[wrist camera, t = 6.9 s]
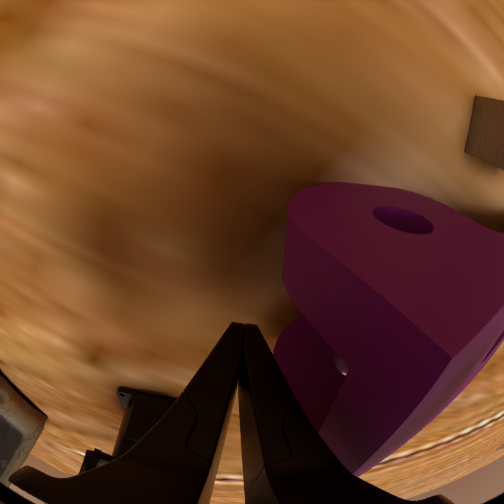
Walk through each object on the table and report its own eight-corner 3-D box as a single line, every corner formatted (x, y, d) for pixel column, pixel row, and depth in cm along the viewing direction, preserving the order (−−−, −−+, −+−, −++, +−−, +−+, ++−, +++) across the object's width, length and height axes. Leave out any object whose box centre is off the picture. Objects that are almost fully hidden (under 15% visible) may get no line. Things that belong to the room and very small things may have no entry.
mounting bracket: (468, 178, 17) (247, 189, 10) (558, 227, 10) (453, 356, 4) (436, 282, 22) (243, 363, 15) (505, 338, 15) (326, 495, 8)
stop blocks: (394, 382, 19) (407, 424, 16) (361, 383, 19) (372, 429, 16) (510, 117, 9) (563, 135, 6) (475, 95, 9) (533, 107, 6)
